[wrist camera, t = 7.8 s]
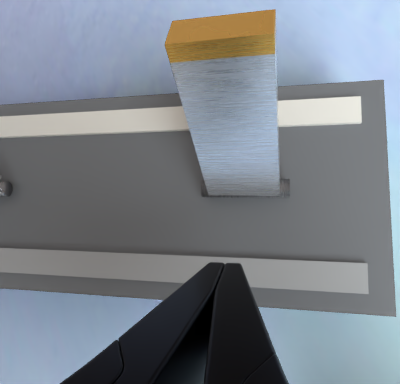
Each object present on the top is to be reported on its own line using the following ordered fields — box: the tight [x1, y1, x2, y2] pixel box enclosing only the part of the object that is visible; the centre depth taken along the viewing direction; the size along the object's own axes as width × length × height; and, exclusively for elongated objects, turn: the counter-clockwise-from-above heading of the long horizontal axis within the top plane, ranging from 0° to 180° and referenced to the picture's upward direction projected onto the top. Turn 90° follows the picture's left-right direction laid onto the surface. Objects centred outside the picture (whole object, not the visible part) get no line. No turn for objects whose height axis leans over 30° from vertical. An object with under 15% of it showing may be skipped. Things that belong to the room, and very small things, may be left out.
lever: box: [165, 9, 290, 198], centre depth 13 cm, size 1×4×8 cm, turn 86°
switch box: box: [0, 80, 396, 317], centre depth 21 cm, size 10×26×5 cm, turn 87°
